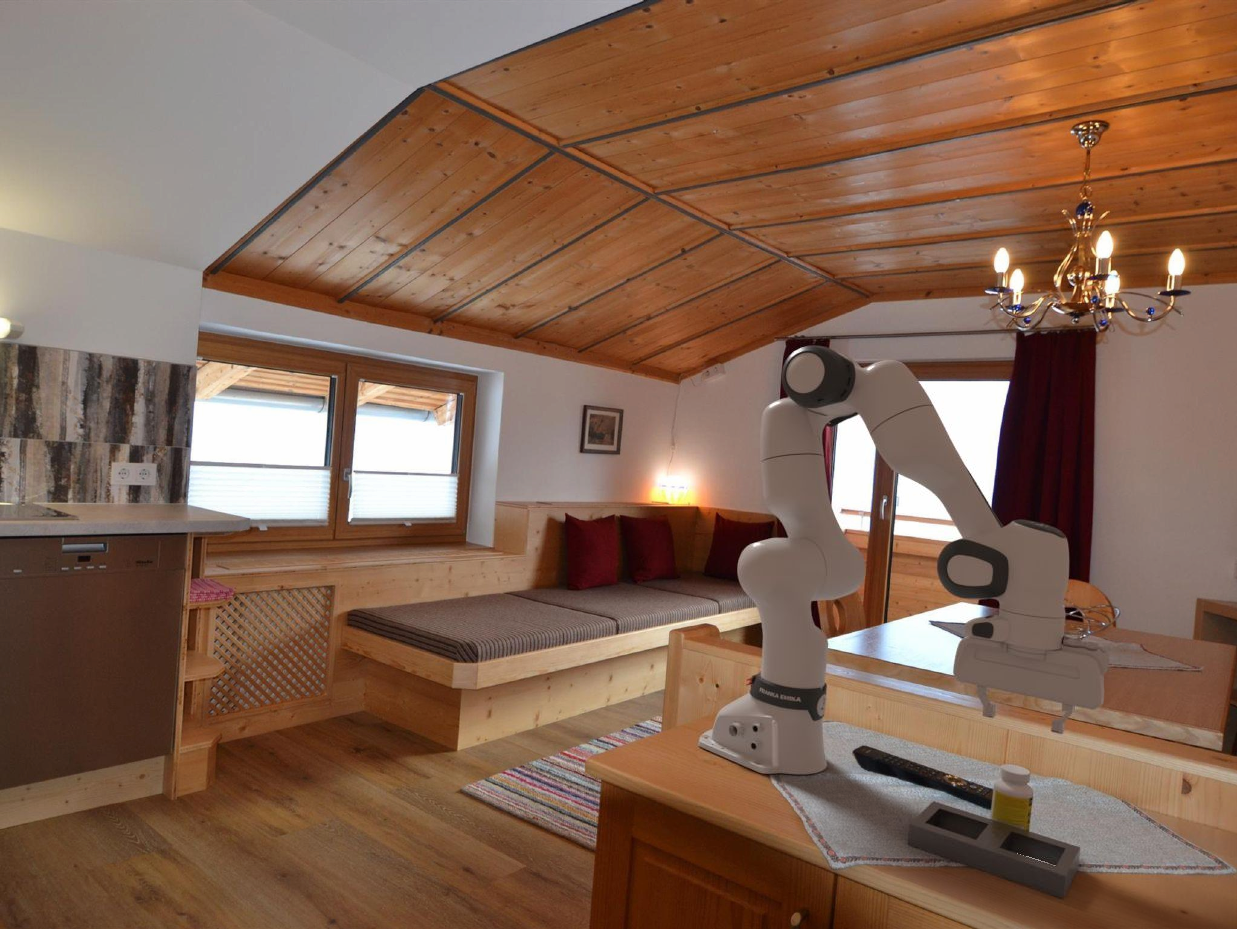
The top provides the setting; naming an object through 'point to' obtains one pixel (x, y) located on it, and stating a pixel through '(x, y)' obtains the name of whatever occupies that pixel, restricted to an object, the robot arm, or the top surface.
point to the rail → (996, 848)
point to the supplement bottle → (1012, 797)
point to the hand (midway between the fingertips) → (1022, 724)
